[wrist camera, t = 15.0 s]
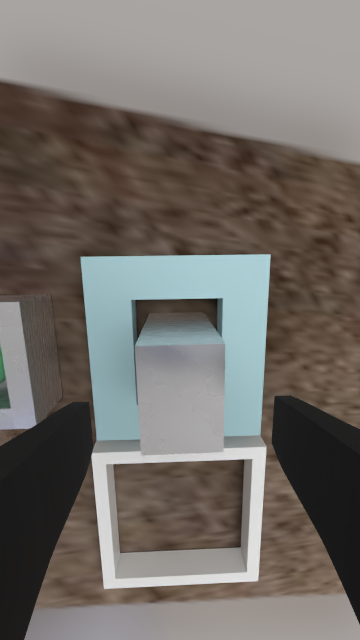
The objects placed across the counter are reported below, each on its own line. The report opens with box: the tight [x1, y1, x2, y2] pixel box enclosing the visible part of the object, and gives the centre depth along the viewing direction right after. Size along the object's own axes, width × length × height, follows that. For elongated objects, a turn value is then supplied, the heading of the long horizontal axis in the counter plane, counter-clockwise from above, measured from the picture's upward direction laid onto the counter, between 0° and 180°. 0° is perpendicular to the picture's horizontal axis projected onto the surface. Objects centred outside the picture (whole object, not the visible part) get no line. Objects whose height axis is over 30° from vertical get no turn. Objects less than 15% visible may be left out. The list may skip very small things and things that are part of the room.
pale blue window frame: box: [81, 254, 271, 441], centre depth 19 cm, size 12×13×2 cm
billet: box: [135, 312, 225, 456], centre depth 16 cm, size 4×6×8 cm
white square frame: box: [91, 435, 266, 589], centre depth 22 cm, size 13×13×2 cm
